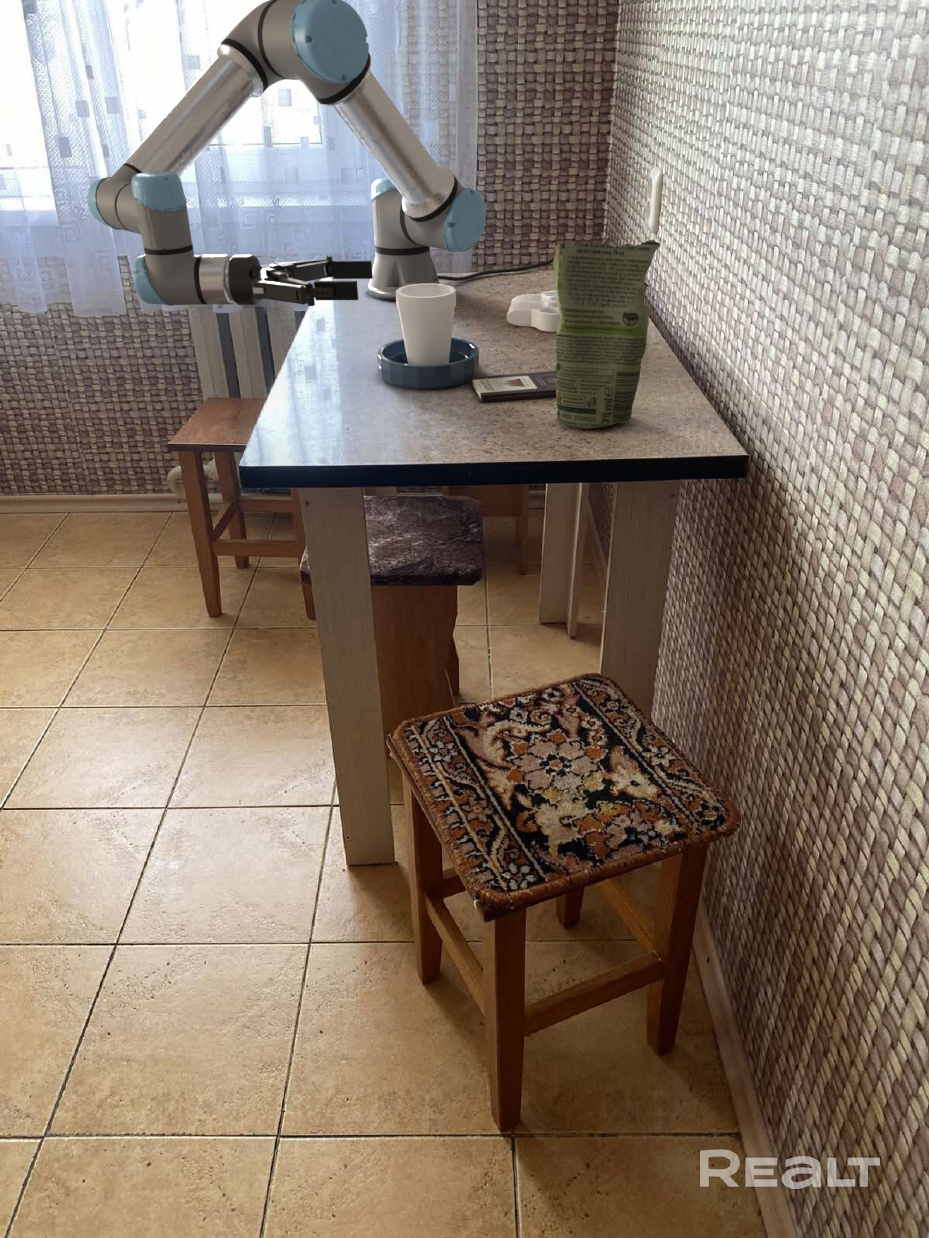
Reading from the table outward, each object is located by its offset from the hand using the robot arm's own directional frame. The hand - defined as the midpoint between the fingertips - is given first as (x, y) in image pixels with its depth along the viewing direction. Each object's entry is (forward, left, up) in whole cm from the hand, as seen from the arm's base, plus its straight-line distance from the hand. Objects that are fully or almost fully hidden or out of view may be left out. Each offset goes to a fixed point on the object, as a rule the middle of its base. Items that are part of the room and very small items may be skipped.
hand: (365, 279), depth 149 cm
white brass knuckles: (-44, -8, -15) cm, 48 cm away
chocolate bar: (-16, +22, -15) cm, 32 cm away
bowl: (-7, +6, -15) cm, 18 cm away
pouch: (-15, +38, -15) cm, 44 cm away
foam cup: (-7, +6, -15) cm, 18 cm away
